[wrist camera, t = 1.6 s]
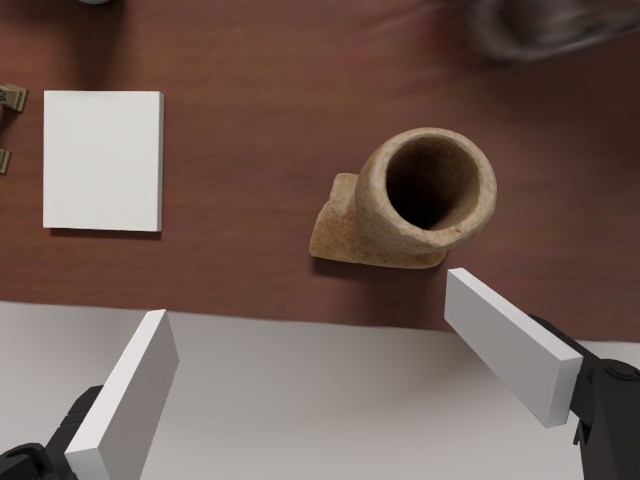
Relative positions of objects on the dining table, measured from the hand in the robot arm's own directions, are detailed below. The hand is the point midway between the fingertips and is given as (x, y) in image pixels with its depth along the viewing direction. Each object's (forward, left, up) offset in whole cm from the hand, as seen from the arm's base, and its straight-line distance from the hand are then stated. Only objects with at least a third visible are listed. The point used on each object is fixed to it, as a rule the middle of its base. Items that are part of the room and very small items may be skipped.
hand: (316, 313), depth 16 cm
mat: (-11, -28, -23) cm, 38 cm away
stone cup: (-6, +5, -23) cm, 25 cm away
